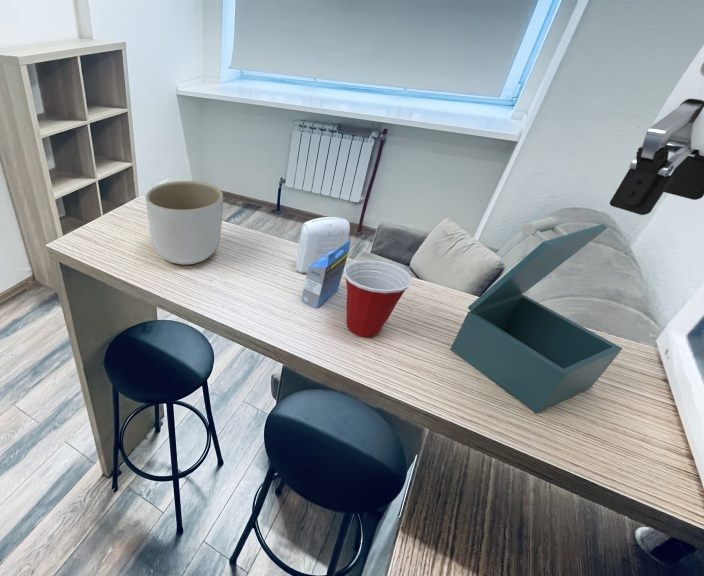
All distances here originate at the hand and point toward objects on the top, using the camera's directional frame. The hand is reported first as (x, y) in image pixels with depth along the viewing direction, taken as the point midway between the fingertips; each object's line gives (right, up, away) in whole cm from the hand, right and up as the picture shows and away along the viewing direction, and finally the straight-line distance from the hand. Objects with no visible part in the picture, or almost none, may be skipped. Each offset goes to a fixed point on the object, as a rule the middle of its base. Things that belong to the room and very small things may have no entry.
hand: (654, 202), depth 44 cm
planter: (-51, -1, +55) cm, 75 cm away
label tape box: (-23, -11, +40) cm, 47 cm away
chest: (+3, -22, +23) cm, 32 cm away
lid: (+1, -7, +17) cm, 18 cm away
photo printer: (-21, -5, +49) cm, 53 cm away
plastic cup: (-18, -17, +32) cm, 40 cm away
